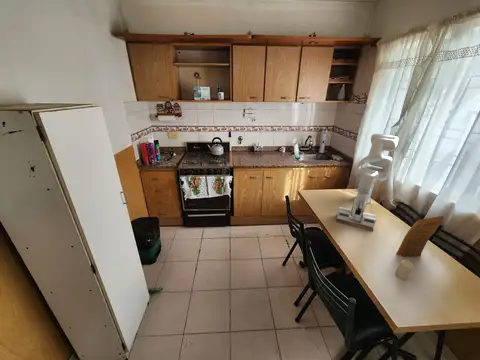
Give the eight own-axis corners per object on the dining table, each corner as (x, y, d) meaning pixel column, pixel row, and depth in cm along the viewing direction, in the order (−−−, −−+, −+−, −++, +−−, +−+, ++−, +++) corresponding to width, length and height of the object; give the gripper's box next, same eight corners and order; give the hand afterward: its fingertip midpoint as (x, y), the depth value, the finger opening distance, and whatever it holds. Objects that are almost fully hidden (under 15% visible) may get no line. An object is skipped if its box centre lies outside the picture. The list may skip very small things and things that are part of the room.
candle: (395, 269, 115) (402, 256, 111) (408, 275, 112) (415, 261, 108) (394, 276, 111) (401, 262, 107) (407, 282, 108) (414, 267, 104)
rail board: (336, 215, 163) (339, 205, 160) (371, 223, 154) (375, 213, 151) (336, 221, 155) (338, 212, 152) (373, 231, 146) (376, 221, 142)
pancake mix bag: (429, 258, 124) (450, 218, 112) (399, 259, 122) (417, 220, 110) (419, 250, 130) (438, 212, 118) (391, 251, 128) (407, 212, 117)
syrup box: (357, 215, 155) (363, 198, 149) (361, 219, 150) (366, 202, 144) (349, 214, 156) (354, 197, 150) (353, 219, 150) (358, 201, 144)
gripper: (357, 184, 152) (351, 205, 159) (358, 193, 138) (351, 216, 145) (368, 186, 149) (362, 207, 157) (371, 196, 135) (363, 219, 142)
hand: (357, 211), depth 151 cm, fingers closed on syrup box, 7 cm apart
